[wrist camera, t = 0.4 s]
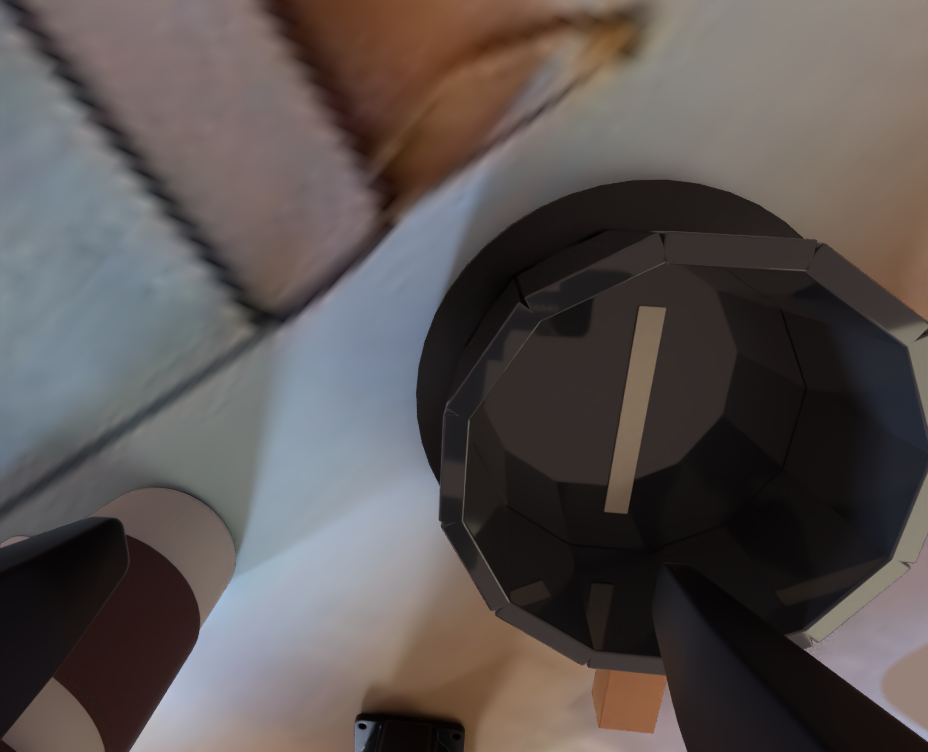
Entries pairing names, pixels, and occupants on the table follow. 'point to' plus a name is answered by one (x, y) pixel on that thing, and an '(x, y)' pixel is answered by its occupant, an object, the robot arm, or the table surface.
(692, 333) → the bowl
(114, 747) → the coffee cup
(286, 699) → the table surface
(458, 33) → the table surface
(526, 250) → the turntable
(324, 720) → the table surface
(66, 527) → the robot arm
